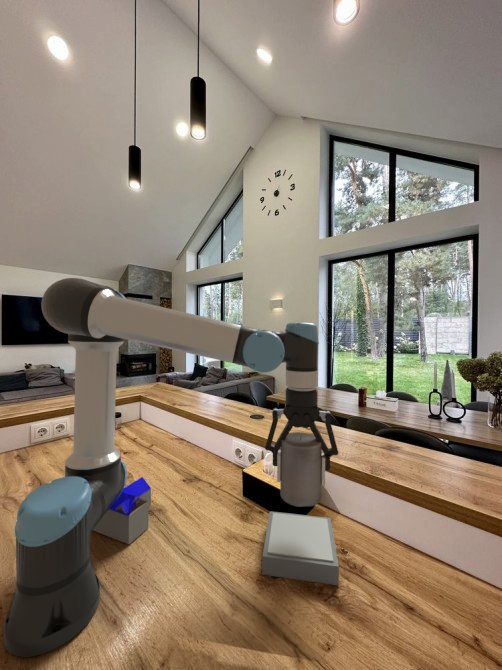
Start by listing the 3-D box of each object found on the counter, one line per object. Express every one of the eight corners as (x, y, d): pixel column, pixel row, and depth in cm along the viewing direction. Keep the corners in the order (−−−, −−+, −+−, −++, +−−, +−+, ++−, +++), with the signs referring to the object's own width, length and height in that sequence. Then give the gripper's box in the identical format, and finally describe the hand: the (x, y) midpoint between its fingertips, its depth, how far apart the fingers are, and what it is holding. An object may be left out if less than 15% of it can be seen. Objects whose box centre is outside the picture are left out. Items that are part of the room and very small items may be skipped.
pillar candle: (293, 481, 76) (294, 424, 76) (328, 494, 70) (329, 432, 70) (272, 497, 69) (272, 434, 69) (309, 513, 63) (309, 444, 63)
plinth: (338, 585, 61) (338, 565, 60) (262, 574, 63) (262, 554, 63) (330, 533, 76) (330, 516, 76) (269, 525, 79) (269, 510, 79)
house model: (61, 518, 82) (61, 483, 81) (106, 491, 95) (107, 461, 95) (128, 545, 72) (128, 504, 72) (168, 510, 85) (168, 477, 85)
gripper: (347, 386, 71) (346, 477, 71) (257, 383, 75) (256, 469, 75) (353, 392, 64) (352, 494, 64) (252, 389, 67) (252, 484, 68)
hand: (300, 480), depth 70 cm, fingers closed on pillar candle, 10 cm apart
